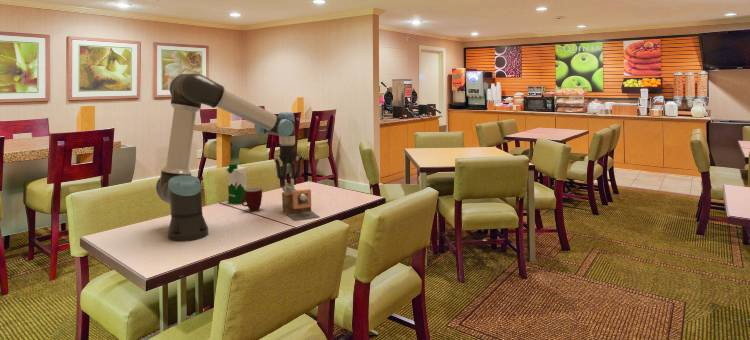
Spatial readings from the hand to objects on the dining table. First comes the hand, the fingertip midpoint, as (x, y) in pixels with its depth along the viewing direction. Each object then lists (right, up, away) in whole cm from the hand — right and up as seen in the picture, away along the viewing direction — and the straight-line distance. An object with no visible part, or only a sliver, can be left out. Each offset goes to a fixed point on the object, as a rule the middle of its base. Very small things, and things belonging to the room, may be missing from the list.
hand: (289, 191), depth 232 cm
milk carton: (-28, -6, +11) cm, 31 cm away
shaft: (+5, -2, -8) cm, 10 cm away
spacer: (+9, -6, -15) cm, 19 cm away
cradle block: (+5, -9, -8) cm, 13 cm away
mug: (-17, -9, -5) cm, 20 cm away
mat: (+9, -10, -15) cm, 21 cm away
